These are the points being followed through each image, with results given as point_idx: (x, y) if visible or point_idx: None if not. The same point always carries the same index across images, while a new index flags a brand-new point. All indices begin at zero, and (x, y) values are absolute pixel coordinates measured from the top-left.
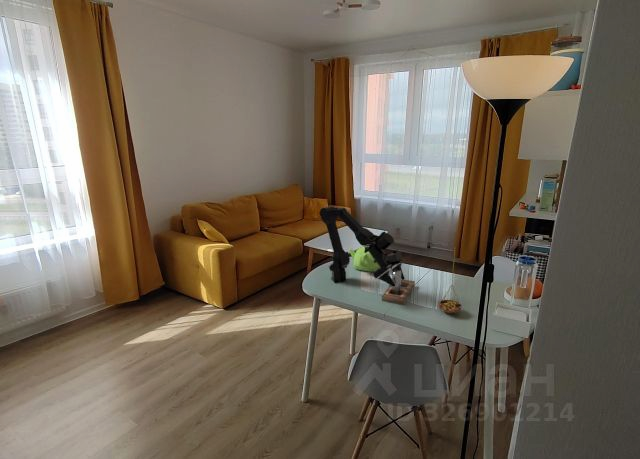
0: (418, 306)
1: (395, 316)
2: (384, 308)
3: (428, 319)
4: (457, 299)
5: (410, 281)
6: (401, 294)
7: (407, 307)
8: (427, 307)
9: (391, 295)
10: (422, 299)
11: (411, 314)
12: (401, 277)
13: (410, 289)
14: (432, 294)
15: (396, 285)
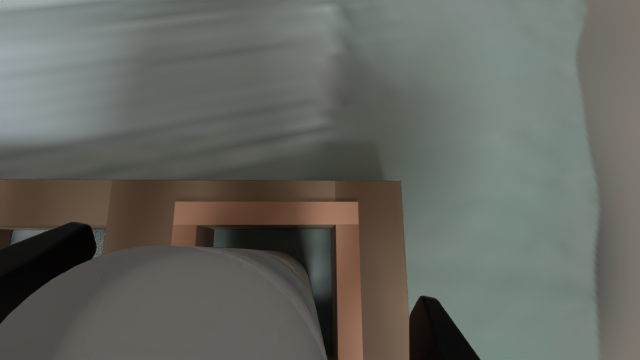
0: (355, 86)
1: (587, 202)
2: (520, 323)
3: (500, 2)
4: None
5: None
6: None
7: (409, 154)
8: (341, 29)
9: (360, 324)
10: (225, 79)
11: (496, 107)
12: None
13: (120, 182)
14: (104, 27)
15: (313, 299)
